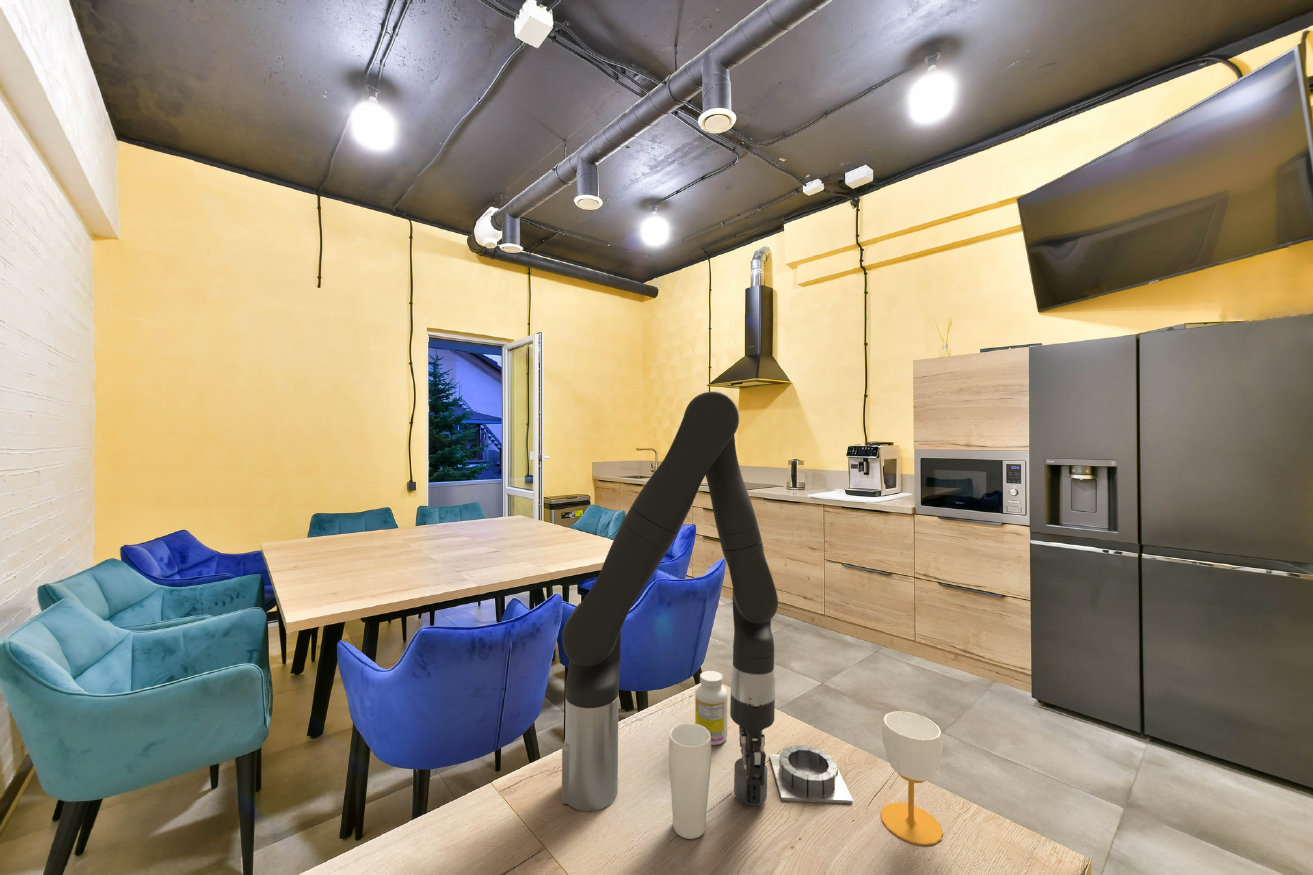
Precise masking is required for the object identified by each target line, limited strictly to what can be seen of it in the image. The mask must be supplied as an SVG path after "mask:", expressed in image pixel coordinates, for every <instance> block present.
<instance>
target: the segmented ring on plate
mask: <svg viewBox="0 0 1313 875" xmlns="http://www.w3.org/2000/svg"><path fill="white" fill-rule="evenodd" d="M768 756H769V762H770V764H771V767H772V772H773V774H774V778H775V783H776V786H777V789H778V792H779V797H780V799H781V802H799V803H800V802H802V803H803V802H804V803H825V804H826V803H827V804H828V803H829V804H847V805H848V804H851V805H852V804H853V798H852V796H851V794H850V792H849V790H848V787H847V785H846V783H845V781H844V779H843V778H842V775H841V773H840V771H839V766H838V764H837V763H836V760H835V758H834V757H833V756H832V755H830V754H828V753H827V752H826V751H824V750H822V749H820V748H816V747H814V746H810V745H803V744H802V745H799V744H796V745H792V746H789V747H786V748H784V749H783V750H782V751H781V753H780V754H779V753H769V755H768Z"/></svg>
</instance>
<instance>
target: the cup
mask: <svg viewBox="0 0 1313 875" xmlns="http://www.w3.org/2000/svg"><path fill="white" fill-rule="evenodd" d="M882 720H883V721H882V725H881V736H882V737H881V738H882V744H883V747H884V751H885V755H886V758H887V760H888V762H889V764H890V765H889V766H891V768H892V769H893V770H894V772H895V773H897V774H898V776H899V777H900V778H901V779H903V780H905V781H906V782H908V789H907V790H908V794H907V800H908V801H907V803H906V802H902V801H901V802H900V801H899V802H890V803H888V804H886V805H883V807H882V809H881V811H880V813H879V814H880V818H881V822H882V824H884V826H885V827H886V829H887V830H889V831H890V832H891V833H892V834H893V835H895V836H896V837H897V838H898V839H901V840H903V841H905V842H908V843H910V844H915V845H918V846H934V845H936V844H937V843H939V842H940V841H942V837H943V835H944V831H943V829H942V826H941V823H940V822H939V821H938V820H937V819H936V818H935V817H934V815H932V814H930V813H929V812H927V811H926V810H925V809H923V808H921V807H919V806H916V805H915V784H923V782H927V781H929V780H930V779H932V778H933V777H934V776H935V774H936V773H937V771H938V768H939V765H940V762H941V759H942V756H943V748H944V747H943V745H944V742H943V735H942V731H941V729H940V727H939V725H937V724H936V723H935V722H934V721H933V720H931V719H929V718H927V717H925V716H923V715H921V714H919V713H918V714H917V713H914V712H910V711H902V710H900V711H897V710H896V711H890V712H888V713H886V714H885V715H884V716H883V719H882Z"/></svg>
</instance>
